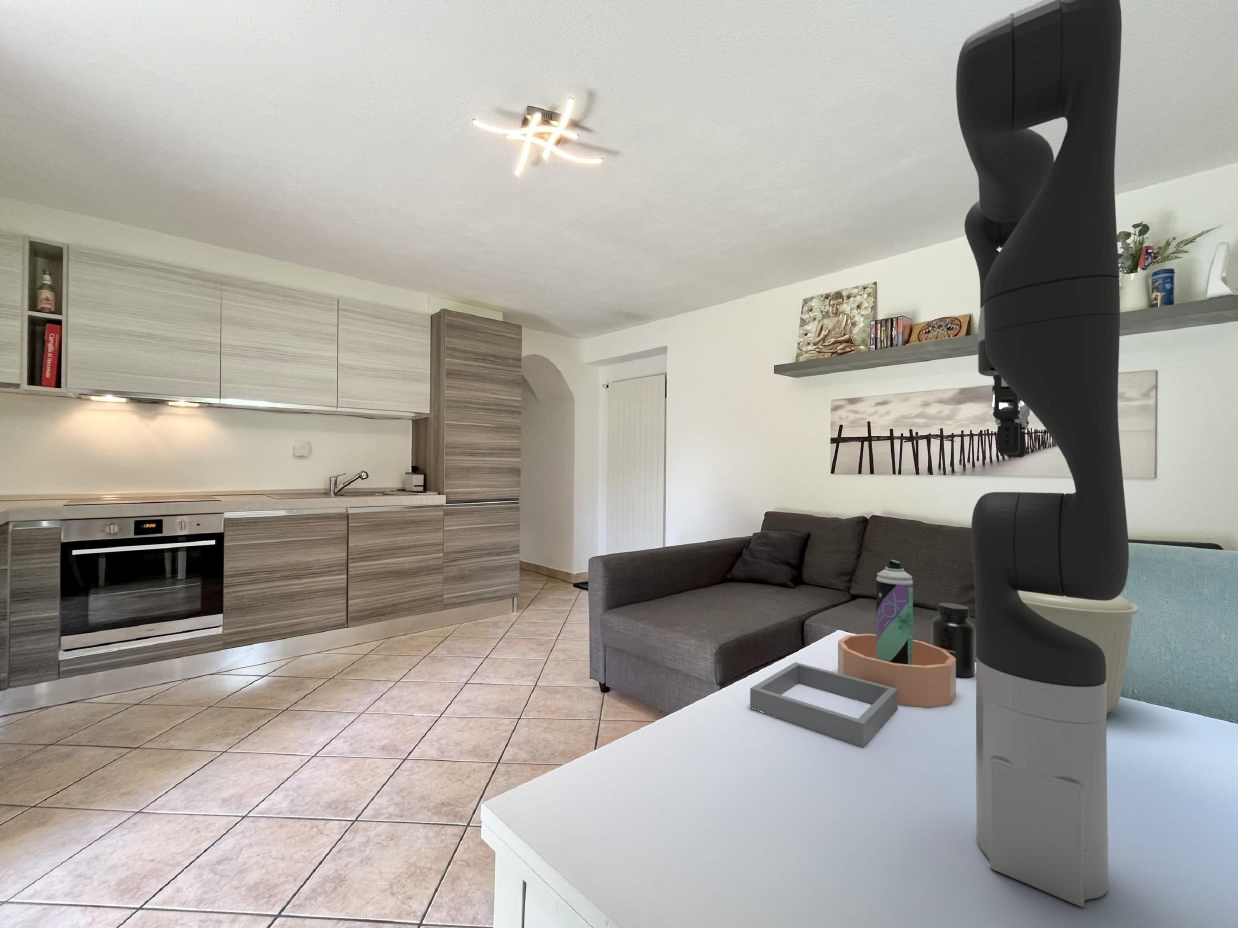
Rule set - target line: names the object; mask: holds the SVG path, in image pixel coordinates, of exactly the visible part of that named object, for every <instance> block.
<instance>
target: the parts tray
mask: <svg viewBox="0 0 1238 928" xmlns="http://www.w3.org/2000/svg"><path fill="white" fill-rule="evenodd" d="M797 684H800V685H801V684H802V685H805V686H807V687H811V688H814V689H818V690H821V691H826V692H828V693H832V694H836V695H839V696H843V697H846V698H850V699H852V700H855V701H856V700H857V701H859V702H864V703H867V704H870V706H869V707H868V708H867V709H866V710H865V711H864V712H863V713H862V714H861V715H860V716H859V717H858V718H856V717H853V716H850V715H847V714H844V713H841V712H838V711H834V710H830V709H828V708H824V707H821V706H819V705H815V704H813V703H809V702H806V701H805V702H804V701H802V700H799V699H796V698H792V697H789V696H786V695H783V694H784V693H786V692H788V691H789V690H790V689H791V688H793V687H794V686H796V685H797ZM749 689H750V690H749V691H750V692H749V693H750V695H749V708H750V707H751V708H753V709H756V710H759V711H762V712H764V713H766V714H765V715H767V714H769V715H768V716H770V715H772V716H771V717H773V716H775V717H774V718H776V717H777V718H776V719H779V718H780V719H779V720H781V721H782V720H783V721H785V722H787V721H788V723H790V722H791V724H794V725H796V726H800V727H802V728H804V729H805V728H806V729H809V730H811V731H814V732H816V733H820V734H823V735H825V736H829V737H832V738H833V739H838V740H841V741H843V742H846V743H849V744H852V745H854V746H858V747H861V748H865V747H866V745H867V744H868V743H869V742H870V741H871V740H872V738H873V737H874V736H875V735H876V734H877V733H878V732H879V731H880V729H881V728H882V727H883V726H884V725H885V723H886V722H887V721H889V719H890V718H891V717H892V716H893V715H894V714H895V712H896V711H897V710H898V689H897V688H893V687H889V686H885V685H881V684H878V683H874V682H870V681H866V680H862V679H858V678H854V677H851V676H847V675H843V674H839V673H838V672H835V671H830V670H829V669H828V670H827V669H823V668H819V667H816V666H811V665H808V664H804V663H799V662H796V661H795V662H793V663H791V664H789V665H788V666H786V667H784V668H783V669H780V670H779V671H777V672H776V673H774V674H772V675H771V676H769V677H767V678H765V679H764V680H762V681H761V682H759V683H757V684H755V685H753V686H751V687H750V688H749ZM764 713H763V714H764Z"/></svg>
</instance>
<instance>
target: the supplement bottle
mask: <svg viewBox="0 0 1238 928" xmlns="http://www.w3.org/2000/svg"><path fill="white" fill-rule="evenodd" d="M937 606H938V607H937V614H938V616H937V617H935V618H933V620H932V621H931V627H930V629H931V630H930V632H931V633H930V634H931V635H930V638H931V639H930V642H931V643H930V645H933V646H936V647H939V648H942V649H944V650H946V651H947V652H948V653H950V654H951V655H952V656H953V657H955V658H956V678H964V679H965V678H972V677H973V676H974V675H975V673H976V626H975V625H973V623H971V622H970V621H969V619H970V608H969V607H968V606H966V605H962V604H958V603H951V602H940V603H938V604H937Z"/></svg>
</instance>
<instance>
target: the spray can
mask: <svg viewBox="0 0 1238 928" xmlns="http://www.w3.org/2000/svg"><path fill="white" fill-rule="evenodd" d="M876 575H877V577H876V583H875V584H876V591H875V593H876V595H875V598H876V599H875V600H876V601H875V603H876V604H875V605H876V606H875V608H876V611H875V612H876V613H875V615H876V616H875V618H876V619H875V620H876V621H875V622H876V624H875V625H876V627H875V629H876V630H875V631H876V632H875V634H876V659H878V660H883V661H887V662H891V663H897V664H908V665H913V640H914V633H913V632H914V630H913V629H914V613H913V612H914V598H913V597H914V581H913V576H912V575H911V574H909V573H908V572H906V571H905V569H904V568H903V566H901V561H900V560H896V559H889V560H888V565H887V566H885V567H884V569H883V570H881V571H880V572H877V574H876Z"/></svg>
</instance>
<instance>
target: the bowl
mask: <svg viewBox="0 0 1238 928" xmlns="http://www.w3.org/2000/svg"><path fill="white" fill-rule="evenodd" d="M837 673H839V674H843V675H847V676H851V677H854V678H858V679H862V680H866V681H870V682H874V683H878V684H881V685H885V686H889V687H893V688H897V689H898V705H899V706H900V705H901V706H908V707H909V706H910V707H917V708H925V709H926V708H928V709H929V708H934V707H936V708H937V707H940V706H941V707H942V706H949V705H951V704H952V703H953V701H954V699H955V698H956V695H957V693H956V692H957V686H956V685H957V681H956V680H957V679H956V678H957V677H956V658H955V657H953V656H952V655H951V654H950V653H948V652H947V651H946V650H944V649H942V648H939V647H936V646H933V645H931V643H930V644H929V643H927V642H925V641H920V640H916V639H913V665H908V664H897V663H891V662H887V661H883V660H878V659H876V633H875V634H873V633H862V634H860V633H859V634H850V635H849V634H848V635H845V636H844V637H842V638H841V639H839V640H837Z"/></svg>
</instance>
